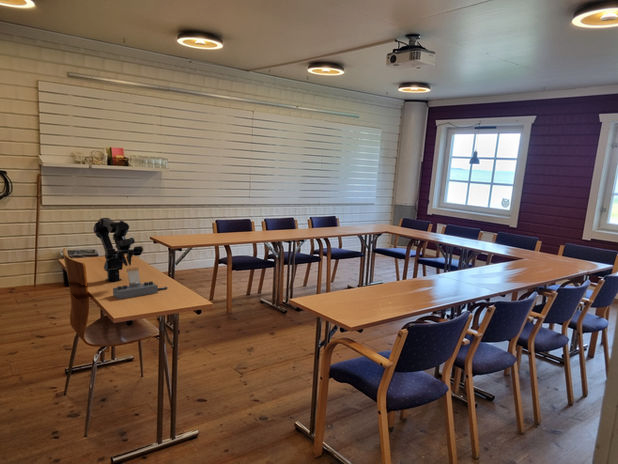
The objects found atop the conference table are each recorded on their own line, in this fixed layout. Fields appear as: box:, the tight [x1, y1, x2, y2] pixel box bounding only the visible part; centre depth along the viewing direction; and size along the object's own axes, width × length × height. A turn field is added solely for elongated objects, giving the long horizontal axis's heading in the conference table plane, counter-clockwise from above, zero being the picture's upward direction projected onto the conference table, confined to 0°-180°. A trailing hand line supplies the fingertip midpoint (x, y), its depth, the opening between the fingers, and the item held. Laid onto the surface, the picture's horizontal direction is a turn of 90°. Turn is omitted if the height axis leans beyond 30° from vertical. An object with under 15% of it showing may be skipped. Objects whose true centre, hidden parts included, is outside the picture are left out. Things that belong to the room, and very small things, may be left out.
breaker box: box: [112, 281, 168, 300], centre depth 226 cm, size 8×27×5 cm, turn 133°
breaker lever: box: [126, 266, 141, 287], centre depth 224 cm, size 2×5×9 cm, turn 132°
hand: (128, 265), depth 228 cm, fingers closed
